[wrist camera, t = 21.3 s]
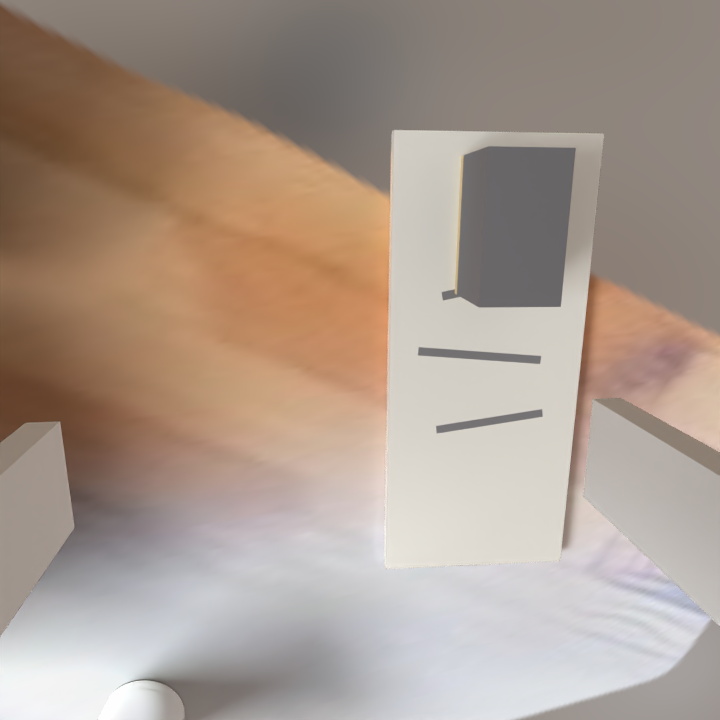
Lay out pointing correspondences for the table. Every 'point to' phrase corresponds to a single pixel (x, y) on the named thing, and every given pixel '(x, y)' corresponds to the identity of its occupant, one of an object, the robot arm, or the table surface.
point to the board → (477, 371)
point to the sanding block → (513, 225)
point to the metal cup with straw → (143, 702)
